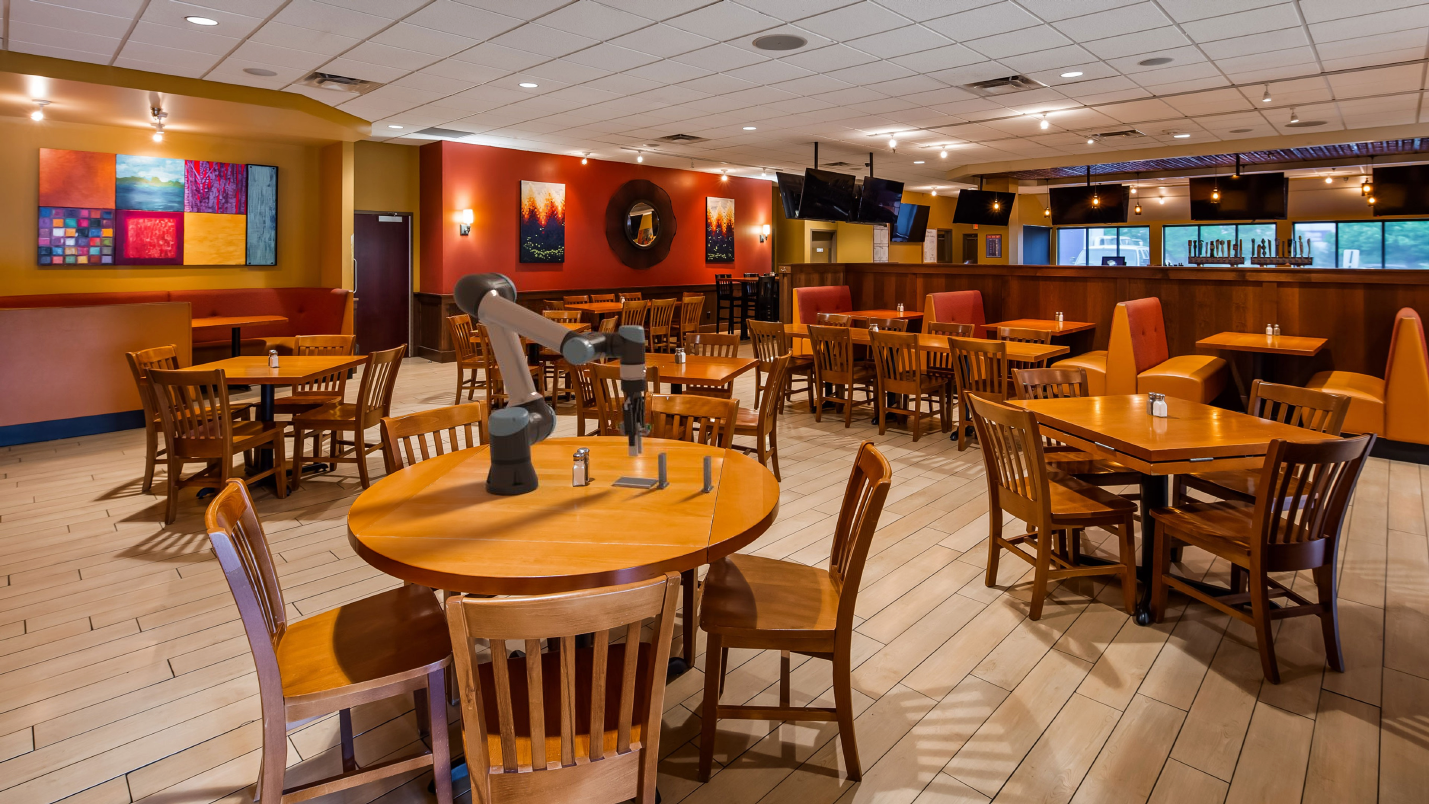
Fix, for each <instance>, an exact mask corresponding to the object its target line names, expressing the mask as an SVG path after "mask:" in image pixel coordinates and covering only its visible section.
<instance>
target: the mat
mask: <svg viewBox="0 0 1429 804" xmlns="http://www.w3.org/2000/svg"><path fill="white" fill-rule="evenodd" d="M657 483H659V478H653V477H641V476H640V477H639V476H628V475H627V476H626V475H625V476H624V475H622V476H621V477H619V478H618V479H617V480H615V481H614V482H612V486H617V487H628V488H629V487H631V488H642V489H652V487H653V486H654V485H656V484H657Z"/></svg>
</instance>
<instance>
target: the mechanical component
mask: <svg viewBox="0 0 1429 804" xmlns="http://www.w3.org/2000/svg"><path fill="white" fill-rule="evenodd" d="M617 428H618V429H619V433H620V435H621V436H623V437H628V435H625V430H624V421H621V422H618V423H617ZM651 430H652V424H650V423H645V427H644V428H641V426H640V423H639V422H636V435H638V441H639V437H642V438H645V437H647V436H648V435H650V433H651ZM640 431H645V433H642V434H641V433H640Z"/></svg>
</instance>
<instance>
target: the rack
mask: <svg viewBox="0 0 1429 804" xmlns="http://www.w3.org/2000/svg"><path fill="white" fill-rule="evenodd" d="M657 460H658V461H657V462H658V463H657V464H658V465H657V466H658V467H657V469H658V471H657V472H658V475H657V476H658V479H659V481H658V484H657V485H656V486H655V489H660V490H664V489H666V488H667V487H668V486H669V485H670V482H668V481H667V479H668V478H667V475H668V474H667V471H668V470H667V469H668V468H667V452H660V453H659V454H658V455H657ZM702 463H703V466H702V467H703V468H702V469H703V488H701V489H700V491H701V493H710V492H711V491H712V490H713V489H714V488H715V485H712V455H705V456H704V457H703V461H702Z"/></svg>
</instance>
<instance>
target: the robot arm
mask: <svg viewBox="0 0 1429 804" xmlns="http://www.w3.org/2000/svg"><path fill="white" fill-rule="evenodd" d="M452 293H453V300H454V302H455V304H456V305H457V307H458V309H460V310H461V311H462V312H464V313H465V314H468V315H469V316H471V317H474V318H476V319H477V320H478V323H480V324H481V325H484V326H485V329H486V331H487V335H488V337H489V340H490V341H489V342H490V344H491V348H492V351H493V353H494V357H495V360H496V363H497V367H498V369H499V372H500V375H501V379H502V383H503V384H504V388H505V391H506V393H507V397H508V403H507V405H506V407H505V408H500V409H497V410H495V411H492V413H491V414H490V415H489V416H488V424H487V431H488V440H489V441H488V442H489V452H490V453H489V454H490V455H489V457H490V467H489V470H488V474H487V476H486V480H485V489H486V492H487V493H490V494H493V495H500V496H509V495H511V496H513V495H520V494H521V495H522V494H525V493H529V492H532V491H535V490H537V488H538V487H539V477H538V476H537V475H538V474H537V473H536V470H535V467H534V465H533V462H532V451H531V446H534V445H535V444H537V443H540V442H543V441H544V440H546V439H547V438H548V437H550V436H551V435H552V434H553V432H554V431H555V429H556V426H557V415H556V413H555V410H554V409H553V408H552V407H551V406H550V405H548V403H546V402H545V399H544V396H543V395H542V394H540V393H539V392H537V390H536V387H535V383H534V380H533V378H532V374H531V371H530V368H529V365H528V361H527V359H526V355H525V353H524V349H523V346H522V343H521V340H520V336H522V337H524V338H526V339H529V340H530V341H533V342H535V343H537V344H538V345H541V346H543V347H545V348H547V349H549V350H552V351H554V352H556V353H558V354H560V355H562V356H563V357H564V359H565V360H566V362H568V363H569V364H572V365H574V366H579V365H585V364H588V363H590V362H593V361H596V360H600V359H603V358H604V359H605V358H612V359H614V358H615V359H617V358H619V377H620V378H621V379H620V391H621V392H622V393H625V402H622V403H621V408H622V413H623V415H622V416H623V422H624V430H625V435H628V436H627V441H628V442H627V443H628V444H627V445H628V457H633V458H634V457H636V458H638V457H639V454H640V455H641V454H643V437H639V441H638V435H636V422H639V423H640V426H641V428H644V427H645V425H646V420H645V419H646V396H645V395H643V394H642V392H645V391H646V390H647V379H646V378H645V377H646V373H647V369H648V368H647V367H646V337H645V328H644V326H642V325H636V324H631V325H620V326H619V328H618V331H617V332H607V331H606V332H604V331H601V332H599V331H598V332H597V331H589V332H588V331H586V332H583V333H582V334H581V333H579V332H576V331H574V330H573V329H570V328H569V327H567V326H564V325H562V324H560V323H559V322H557V321H554V320H551V319H550V318H547V317H545V316H543V315H540V314H539V313H537V312H534V311H532V310H531V309H528V308H526V307H525V306H523V305H522V306H521V305H520V304H517V303H515V302H516V300H517V295H518V294H517V289H516V286H515V284H514V282H513V281H512V280H511V279H510V278H509V277H508V276H506V275H504V274H502V273H497V272H484V273H470V274H466V275H464V276H462V277H460V278H459V279H458V280H457V282H456V283H455V285H454V287H453V292H452ZM519 335H520V336H519ZM640 433H641V434H643V433H646V431H640Z"/></svg>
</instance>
